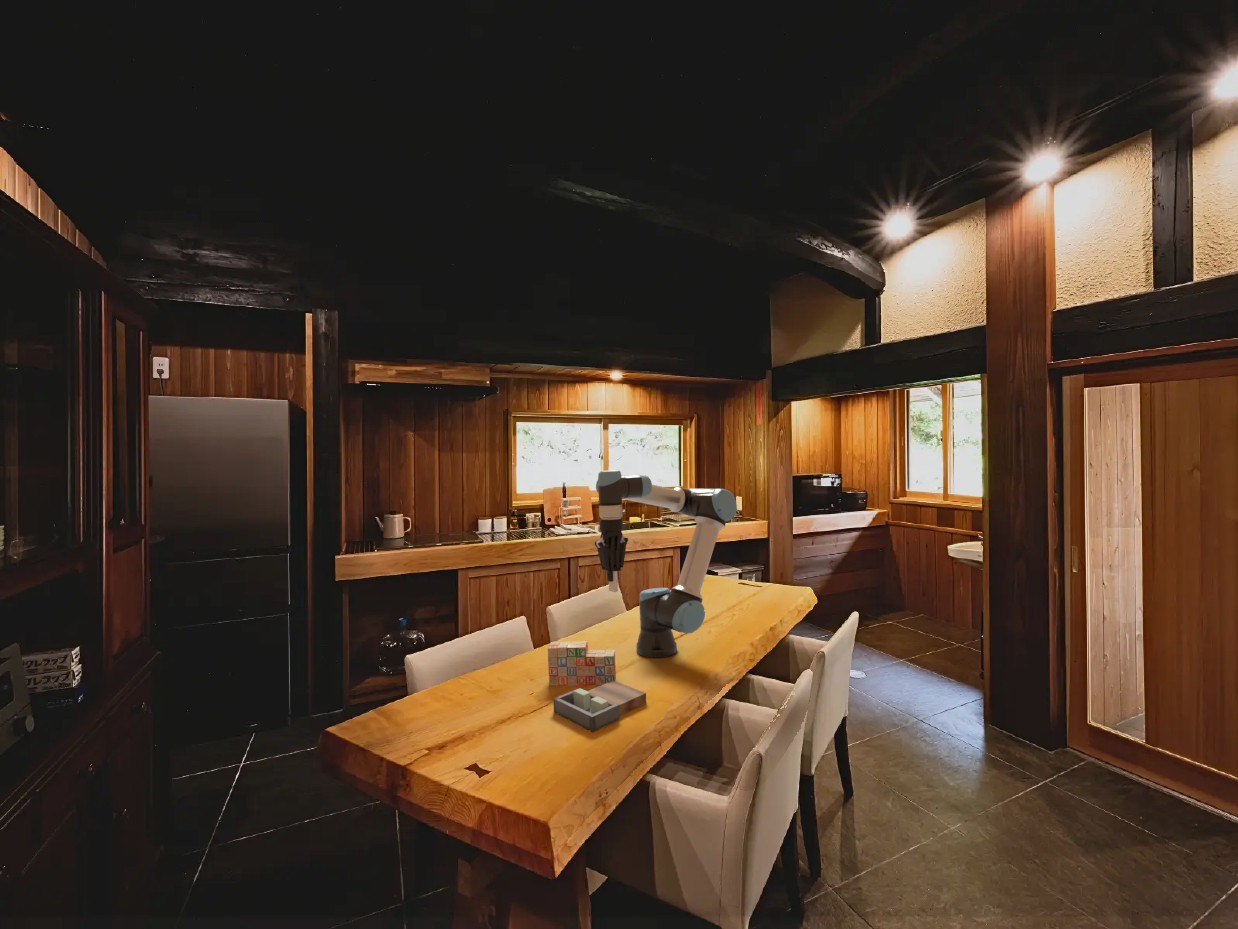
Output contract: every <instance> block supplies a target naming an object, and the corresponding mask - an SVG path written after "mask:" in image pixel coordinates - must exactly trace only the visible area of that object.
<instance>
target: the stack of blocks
mask: <svg viewBox="0 0 1238 929" xmlns="http://www.w3.org/2000/svg"><path fill="white" fill-rule="evenodd" d="M588 647H589V646H588V640H587V641H586V640H585V641H582V640H581V641H551V642H550V644H549V645H548V647H547V663H548V664H547V666H548V685H549V686H601V685H604V684H606V683H608V682H611V681H613V680H614V681H616V680H617V670H616V650H615V649H590V650H589V648H588Z"/></svg>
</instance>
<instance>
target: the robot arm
mask: <svg viewBox="0 0 1238 929" xmlns="http://www.w3.org/2000/svg"><path fill="white" fill-rule="evenodd" d="M595 489H596V492H597V494H598V505H599V506H598V514H599V515H598V516H599V518H600V519H599V531H600V532H601V533H600V539H598V541H595V542H594V546H595V547H596V549H597V552H598V558H599V562H600V563H599V564H600V566H601V570H602V571H605V572H606V579H607V582H608V592H613V593H616V592H619V579H620V577H619V576H620V574H619V572H620V571H622V568H623V569H624V566H625V558H626V557H625V555H626V549H627V544H628V542H629V538H628V537H625V536H624V534H623V532H622V531H623V529H624V522H623V521H624V520H623V500H626V501H630V502H636V503H640V504H645V505H650V506H651V505H652V506H655V507H660V508H667V509H669V510H670V511H671V512H673V513H678V514H682V515H685V516H688V517H691V518H693V519H694V521H695V522H696V525H695V528H694V531H693V535H692V537H691V541H690V543H689V546H688V550H687V553H686V557H685V560H684V562H683V565H682V569H681V571H680V575H679V578H678V582H677V584H676V585H675V586H673V587H671V589H670V588H669V587H656V588H654V587H653V588H648V589H644V590H642V591H641V592H639V600H638V603H639V622H640V623H639V624H640V625H639V628H640V630H639V635H638V639H637V642H636V646H635V648H636V653H637V654H638V655H640V656H643V657H648V658H666V657H671V656H672V655H675V654H676V653H677V652H678V646H677V642H676V641H675V635H674V633H673V631H675V632H678V633H684V634H693V633H694V632H696V631H697V630H699V629H700V628H701V626H702V624H703V623H704V622H705V621H704V620H705V617H706V611H705V606H704V605H703V604H702V603H703V597H702V594H701V591H702V588H703V585H704V581H705V579H706V575H707V572H708V568H709V565H710V562H711V560H712V559H711V558H712V556H713V555H712V554H713V551H714V548H715V546H716V542H717V539H718V536H719V532H720V531H722V530H723V529H724V528H725V527H726V523H727V522H729V521H731V520H732V519H734V518H735V516H736V514H737V509H738V508H737V506H738V505H737V500H736V499H735V496H734V494H733V493H732V492H731V491H730V490H728V489H725V488H719V487H717V488H709V487H708V488H706V487H705V488H701V487H700V488H698V487H697V488H683V487H682V488H681V487H674V488H670V487H666V486H661V485H657V484H653V483H652V480H651V479H650V477H649V476H647V475H646V474H645V475H644V474H637V475H635V474H634V475H633V474H632V475H622V472H621V471H620V470H618V469H617V470H601V471H599V472H598V476H597V481H596V484H595ZM672 630H673V631H672Z"/></svg>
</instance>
